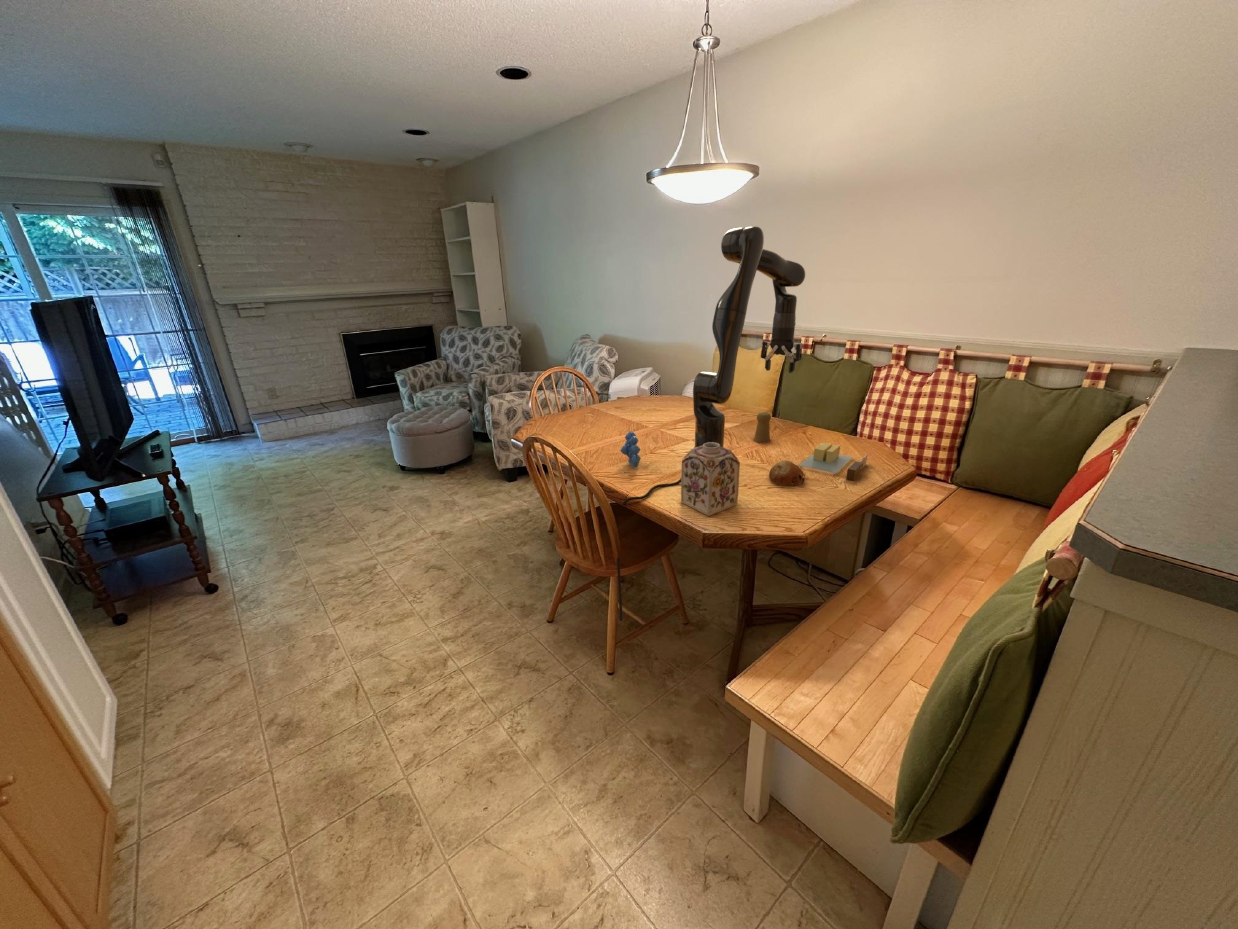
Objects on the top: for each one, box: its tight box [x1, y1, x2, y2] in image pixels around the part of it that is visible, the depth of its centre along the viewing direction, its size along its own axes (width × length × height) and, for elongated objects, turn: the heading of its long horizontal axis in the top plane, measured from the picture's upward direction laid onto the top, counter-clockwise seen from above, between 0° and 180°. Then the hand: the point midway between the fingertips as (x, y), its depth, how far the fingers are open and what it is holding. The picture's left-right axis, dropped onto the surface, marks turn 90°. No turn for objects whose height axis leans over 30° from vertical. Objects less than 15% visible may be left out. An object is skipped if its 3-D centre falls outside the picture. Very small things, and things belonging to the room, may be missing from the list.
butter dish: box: [798, 453, 854, 474], centre depth 162 cm, size 18×12×1 cm, turn 140°
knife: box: [845, 454, 868, 482], centre depth 152 cm, size 17×2×4 cm, turn 140°
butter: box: [813, 442, 833, 461], centre depth 164 cm, size 8×3×4 cm, turn 140°
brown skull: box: [768, 460, 806, 487], centre depth 149 cm, size 10×10×8 cm
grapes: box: [620, 430, 642, 469], centre depth 164 cm, size 12×7×12 cm, turn 14°
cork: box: [753, 411, 772, 444], centre depth 185 cm, size 6×6×11 cm
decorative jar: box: [680, 442, 741, 517], centre depth 133 cm, size 12×12×18 cm
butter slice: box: [826, 444, 841, 463], centre depth 162 cm, size 8×2×4 cm, turn 140°
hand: (779, 371), depth 175 cm, fingers open, 8 cm apart
